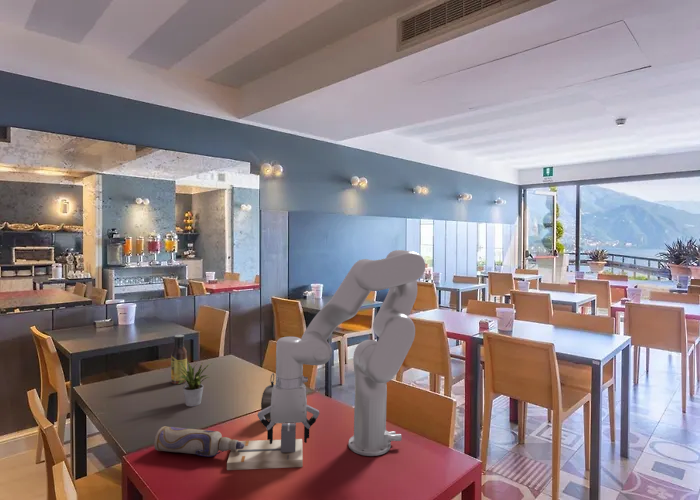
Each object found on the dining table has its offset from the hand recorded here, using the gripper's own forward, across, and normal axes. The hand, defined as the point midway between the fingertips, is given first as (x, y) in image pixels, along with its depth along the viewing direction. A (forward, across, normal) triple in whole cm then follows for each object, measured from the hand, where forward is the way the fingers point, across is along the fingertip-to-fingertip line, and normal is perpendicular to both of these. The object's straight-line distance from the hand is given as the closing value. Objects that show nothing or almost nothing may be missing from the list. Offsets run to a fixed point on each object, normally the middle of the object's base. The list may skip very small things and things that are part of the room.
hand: (288, 441), depth 123 cm
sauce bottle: (+5, +47, -65) cm, 80 cm away
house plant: (+5, +37, -41) cm, 55 cm away
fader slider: (+2, 0, 0) cm, 2 cm away
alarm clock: (+5, +6, -24) cm, 25 cm away
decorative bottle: (+4, +26, -2) cm, 26 cm away
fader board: (+4, +6, 0) cm, 7 cm away
